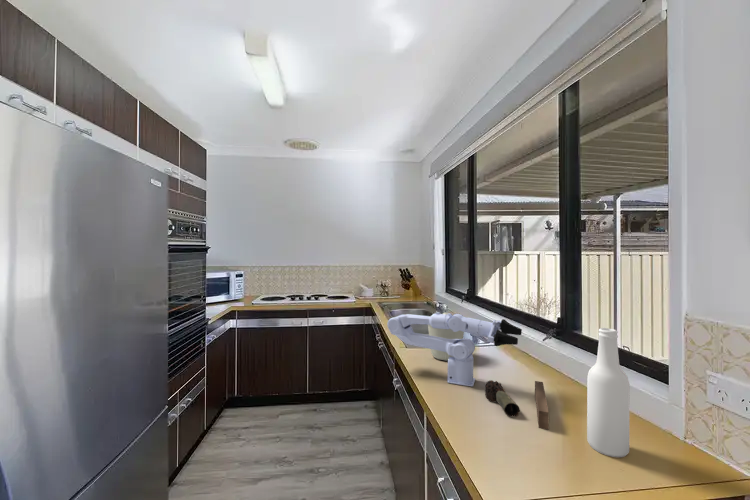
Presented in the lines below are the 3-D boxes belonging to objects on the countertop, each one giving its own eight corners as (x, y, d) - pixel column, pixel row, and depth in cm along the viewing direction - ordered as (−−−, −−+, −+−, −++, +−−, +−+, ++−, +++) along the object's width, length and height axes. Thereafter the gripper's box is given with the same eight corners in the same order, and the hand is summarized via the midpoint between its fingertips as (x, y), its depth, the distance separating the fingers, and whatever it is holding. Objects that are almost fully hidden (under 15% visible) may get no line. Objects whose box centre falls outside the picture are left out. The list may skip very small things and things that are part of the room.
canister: (470, 364, 149) (470, 316, 149) (429, 363, 149) (429, 315, 149) (460, 351, 167) (460, 309, 167) (423, 351, 167) (424, 309, 168)
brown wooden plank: (538, 427, 95) (538, 410, 95) (534, 394, 117) (534, 380, 117) (548, 429, 94) (548, 412, 94) (542, 396, 116) (542, 382, 116)
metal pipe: (520, 417, 102) (520, 398, 102) (497, 417, 102) (497, 398, 102) (499, 392, 119) (499, 376, 119) (480, 392, 120) (480, 376, 120)
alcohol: (579, 444, 87) (580, 327, 87) (598, 435, 92) (598, 324, 92) (617, 462, 80) (618, 335, 80) (636, 452, 84) (636, 331, 84)
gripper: (475, 325, 119) (516, 335, 112) (486, 310, 131) (523, 318, 124) (474, 344, 120) (515, 354, 113) (485, 327, 132) (522, 335, 125)
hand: (519, 336), depth 119 cm, fingers open, 7 cm apart
